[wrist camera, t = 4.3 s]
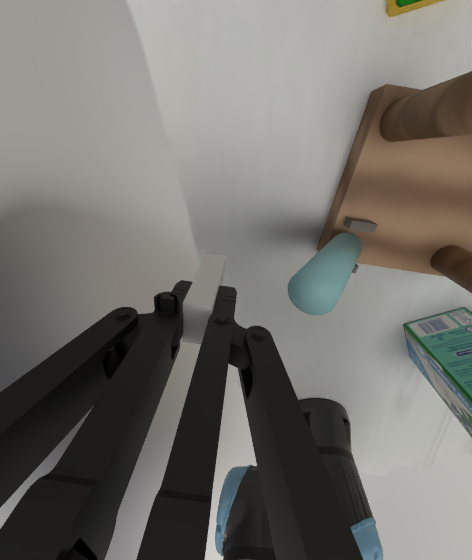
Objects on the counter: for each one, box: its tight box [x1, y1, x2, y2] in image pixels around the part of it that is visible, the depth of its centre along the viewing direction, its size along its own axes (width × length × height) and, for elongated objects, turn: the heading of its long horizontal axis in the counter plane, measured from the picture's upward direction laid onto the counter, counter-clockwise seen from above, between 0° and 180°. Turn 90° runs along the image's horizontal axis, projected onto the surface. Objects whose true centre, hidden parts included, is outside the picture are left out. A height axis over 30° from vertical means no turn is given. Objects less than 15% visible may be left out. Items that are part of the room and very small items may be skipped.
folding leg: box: [288, 232, 362, 315], centre depth 21 cm, size 4×4×14 cm
